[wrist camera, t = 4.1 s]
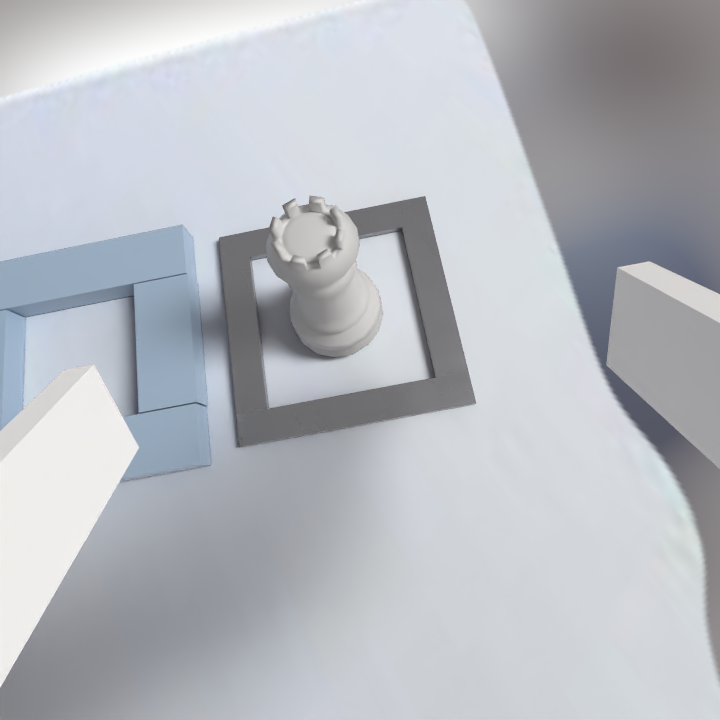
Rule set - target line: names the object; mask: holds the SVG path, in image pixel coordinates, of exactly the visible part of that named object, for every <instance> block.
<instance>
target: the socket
mask: <svg viewBox="0 0 720 720" xmlns="http://www.w3.org/2000/svg"><path fill="white" fill-rule="evenodd" d="M129 296H134V304H135V330H136V356H137V382H138V407H139V413H142V414H137V415H131V416H126V417H123V419H124V421H125V423H126V424H127V426H128V428H129V430H130V432H131V434H132V435H133V437H134V439H135V441H136V443H137V444H138V446H139V449H138V450H137V452H136V454H135V456H134V457H133V459H132V461H131V462H130V464H129V466H128V468H127V469H126V471H125V473H124V475H123V476H122V478H121V480H120V481H119V482H123V481H128V480H133V479H139V478H144V477H150V476H155V475H161V474H166V473H172V472H177V471H182V470H188V469H193V468H199V467H204V466H210V465H211V455H210V442H209V430H208V417H207V407H204V406H208V402H207V389H206V377H205V365H204V352H203V340H202V328H201V316H200V303H199V291H198V284H197V281H196V269H195V256H194V244H193V236H192V235H191V234H190V233H189V232H188V230H187V229H186V228H185V227H184V226H183V225H178V226H173V227H168V228H163V229H158V230H153V231H148V232H143V233H139V234H134V235H129V236H124V237H119V238H114V239H109V240H104V241H99V242H94V243H89V244H84V245H79V246H74V247H69V248H64V249H60V250H55V251H50V252H45V253H40V254H35V255H30V256H25V257H20V258H15V259H10V260H5V261H0V431H1V430H2V429H3V428H4V427H5V426H6V425H7V424H8V423H9V422H10V421H11V420H12V419H14V418H15V417H16V416H17V415H18V414H19V413H20V412H21V411H22V410H23V381H24V350H25V319H26V318H24V317H28V316H33V315H38V314H43V313H48V312H53V311H58V310H63V309H68V308H73V307H78V306H83V305H88V304H93V303H98V302H103V301H109V300H114V299H119V298H124V297H129Z"/></svg>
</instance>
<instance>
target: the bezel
mask: <svg viewBox="0 0 720 720" xmlns="http://www.w3.org/2000/svg"><path fill="white" fill-rule="evenodd" d="M344 213H346V214H347V215H348V216H349V217H350V219H351V220H352V222H353V223H354V224H355V226H356V227H357V230H358V236H359V239H360V238H365V237H370V236H375V235H381V234H386V233H391V232H396V231H401V230H402V232H403V236H404V241H405V245H406V249H407V254H408V258H409V263H410V267H411V272H412V276H413V281H414V285H415V289H416V294H417V298H418V303H419V307H420V312H421V316H422V321H423V325H424V329H425V334H426V338H427V343H428V347H429V352H430V356H431V361H432V365H433V369H434V374H435V378H431V379H425V380H420V381H415V382H409V383H404V384H399V385H393V386H388V387H383V388H377V389H372V390H366V391H361V392H356V393H350V394H345V395H340V396H334V397H329V398H324V399H318V400H313V401H308V402H302V403H297V404H292V405H286V406H281V407H276V408H270V409H269V404H268V396H267V388H266V379H265V371H264V362H263V354H262V345H261V337H260V329H259V320H258V312H257V303H256V295H255V287H254V278H253V270H252V261H251V260H255V259H260V258H265V257H267V252H266V243H267V240H268V237H269V233H270V231H269V228H264V229H259V230H254V231H249V232H244V233H239V234H235V235H230V236H225V237H220V238H219V245H220V255H221V265H222V275H223V285H224V296H225V306H226V316H227V326H228V336H229V347H230V357H231V367H232V377H233V387H234V397H235V408H236V418H237V428H238V438H239V447H246V446H251V445H257V444H262V443H268V442H273V441H278V440H284V439H289V438H295V437H300V436H305V435H311V434H316V433H322V432H327V431H333V430H338V429H343V428H349V427H354V426H360V425H365V424H371V423H376V422H381V421H387V420H392V419H398V418H403V417H408V416H414V415H419V414H425V413H430V412H436V411H441V410H446V409H452V408H457V407H463V406H468V405H474V404H476V401H475V397H474V393H473V389H472V384H471V380H470V376H469V372H468V368H467V364H466V360H465V356H464V352H463V348H462V344H461V340H460V336H459V332H458V328H457V324H456V320H455V315H454V311H453V307H452V303H451V299H450V295H449V291H448V287H447V283H446V279H445V275H444V271H443V267H442V263H441V259H440V255H439V251H438V247H437V242H436V238H435V234H434V230H433V226H432V222H431V218H430V214H429V210H428V206H427V202H426V198H425V196H424V197H419V198H414V199H409V200H404V201H399V202H394V203H389V204H384V205H379V206H374V207H369V208H364V209H359V210H354V211H349V212H344Z"/></svg>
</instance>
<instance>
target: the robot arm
mask: <svg viewBox="0 0 720 720" xmlns="http://www.w3.org/2000/svg"><path fill="white" fill-rule="evenodd" d="M607 366H608V367H609V368H610V369H611V370H613V371H614V372H615V373H616V374H617V375H618V376H619V377H620V378H621V379H622V380H623V381H624V382H626V383H627V384H628V385H629V386H630V387H631V388H632V389H633V390H634V391H635V392H636V393H638V394H639V395H640V396H641V397H642V398H643V399H644V400H645V401H646V402H647V403H648V404H649V405H651V406H652V407H653V408H654V409H655V410H656V411H657V412H658V413H659V414H660V415H662V416H663V417H664V418H665V419H666V420H667V421H668V422H669V423H670V424H671V425H673V427H675V428H676V429H677V430H678V431H679V432H680V433H681V434H682V435H683V436H684V437H685V438H686V439H688V440H689V441H690V442H691V443H692V444H693V445H694V446H695V447H696V448H697V449H699V450H700V451H701V452H702V453H703V454H704V455H705V456H706V457H707V458H708V459H709V460H710V461H712V462H713V463H714V464H715V465H716V466H717V467H718V468H719V469H720V294H718V293H715V292H713V291H711V290H709V289H707V288H705V287H703V286H701V285H699V284H696V283H694V282H692V281H690V280H688V279H686V278H683V277H681V276H679V275H677V274H675V273H673V272H671V271H669V270H666V269H664V268H662V267H660V266H658V265H656V264H653V263H651V262H644V263H639V264H634V265H628V266H623V267H618V268H617V276H616V285H615V294H614V302H613V312H612V320H611V329H610V338H609V347H608V355H607ZM138 449H139V446H138V444H137V443H136V441H135V439H134V437H133V435H132V434H131V432H130V430H129V428H128V426H127V424H126V423H125V421H124V419H123V417H122V415H121V413H120V412H119V410H118V408H117V406H116V404H115V402H114V401H113V399H112V397H111V395H110V393H109V391H108V390H107V388H106V386H105V384H104V382H103V380H102V379H101V377H100V375H99V373H98V371H97V369H96V368H95V366H94V364H93V365H87V366H82V367H76V368H71V369H66V370H64V371H63V372H62V373H61V374H60V375H58V376H57V377H56V378H55V379H54V380H53V381H52V382H51V383H50V384H49V385H48V386H47V387H46V388H45V389H44V390H43V391H42V392H41V393H40V394H39V395H38V396H37V397H35V398H34V399H33V400H32V401H31V402H30V403H29V404H28V405H27V406H26V407H25V408H24V409H23V410H22V411H21V412H20V413H19V414H18V415H17V416H16V417H15V418H14V419H12V420H11V421H10V422H9V423H8V424H7V425H6V426H5V427H4V428H3V429H2V430H1V431H0V687H1V685H2V684H3V682H4V680H5V679H6V677H7V675H8V673H9V672H10V670H11V668H12V666H13V665H14V663H15V661H16V660H17V658H18V656H19V654H20V653H21V651H22V649H23V647H24V646H25V644H26V642H27V641H28V639H29V637H30V635H31V634H32V632H33V630H34V628H35V627H36V625H37V623H38V622H39V620H40V618H41V616H42V615H43V613H44V611H45V609H46V608H47V606H48V604H49V603H50V601H51V599H52V597H53V596H54V594H55V592H56V590H57V589H58V587H59V585H60V583H61V582H62V580H63V578H64V577H65V575H66V573H67V571H68V570H69V568H70V566H71V564H72V563H73V561H74V559H75V558H76V556H77V554H78V552H79V551H80V549H81V547H82V545H83V544H84V542H85V540H86V539H87V537H88V535H89V533H90V532H91V530H92V528H93V526H94V525H95V523H96V521H97V520H98V518H99V516H100V514H101V513H102V511H103V509H104V507H105V506H106V504H107V502H108V501H109V499H110V497H111V495H112V494H113V492H114V490H115V488H116V487H117V485H118V483H119V481H120V480H121V478H122V476H123V475H124V473H125V471H126V469H127V468H128V466H129V464H130V462H131V461H132V459H133V457H134V456H135V454H136V452H137V450H138Z"/></svg>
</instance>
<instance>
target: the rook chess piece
mask: <svg viewBox="0 0 720 720" xmlns="http://www.w3.org/2000/svg"><path fill="white" fill-rule="evenodd" d="M282 206H283V209H284V211H285V214H284V215H282V216H281V217H280V219H278V218H275V217H273V218H272V221H271V224H270V227H269V231H270V233H269V237H268V240H267V243H266V252H267V261H268V263H269V265H270V266H271V268H272V269H273V271H274V273H275V274H276V276H278V277H279V278H280V279H282V280H283V281H285V282H286V283H288V285H289V286H290V288H291V289H292V290H293V293H292V296H291V300H290V304H289V307H290V316H291V323H292V324H293V326H294V330H295V331H296V333H297V335H298V336H299V338H300V340H301V341H302V343H303V344H304V345H306V346H307V347H308V348H310V349H311V350H313V351H314V352H316V353H317V354H321V355H326V356H331V357H340V356H346V355H351V354H354V353H356V352H357V351H359V350H361V349H362V348H364V347H366V346H367V345H369V343H370V342H371V341H372V339H373V338H374V337H375V335H376V334H377V333H378V331H379V329H380V325H381V321H382V317H383V309H382V303H381V298H380V296H379V292H378V289H377V288H376V286H375V285H374V283H373V282H372V280H371V279H370V277H369V276H368V275H367V274H366V273H364V272H362V271H361V270H359V269H358V268H357V261H356V258H357V254H358V250H359V247H360V242H359V236H358V230H357V227H356V226H355V224H354V223H353V222H352V220H351V219H350V217H349V216H348V215H347V214H346V213H344V212H342V211H341V210H339V209H338V207H337V206H336V205H335V206H331V205H326V204H325V200H324V198H322V197H316V196H310V198H309V204H307V205H302V206H298V205H297V202H296V199H293V200H291V201H289V202H288V203H286V204H284V205H282Z"/></svg>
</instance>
